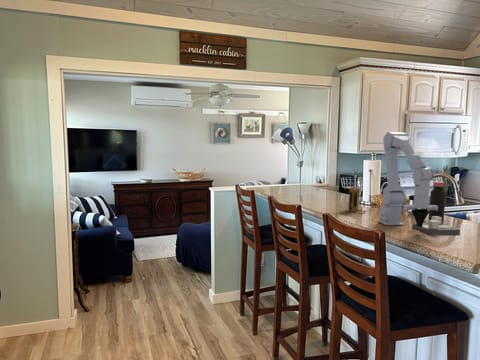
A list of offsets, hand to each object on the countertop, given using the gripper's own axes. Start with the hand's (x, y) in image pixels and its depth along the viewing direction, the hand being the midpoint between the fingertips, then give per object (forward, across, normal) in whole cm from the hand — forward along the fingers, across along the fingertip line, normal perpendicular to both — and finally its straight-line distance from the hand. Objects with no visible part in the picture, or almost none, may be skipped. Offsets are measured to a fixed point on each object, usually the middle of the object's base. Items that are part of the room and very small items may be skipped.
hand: (419, 226), depth 160 cm
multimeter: (+3, -6, +50) cm, 50 cm away
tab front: (+1, +7, 0) cm, 7 cm away
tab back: (+1, +13, +9) cm, 16 cm away
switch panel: (+3, +10, +4) cm, 12 cm away
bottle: (+3, +24, +24) cm, 34 cm away
